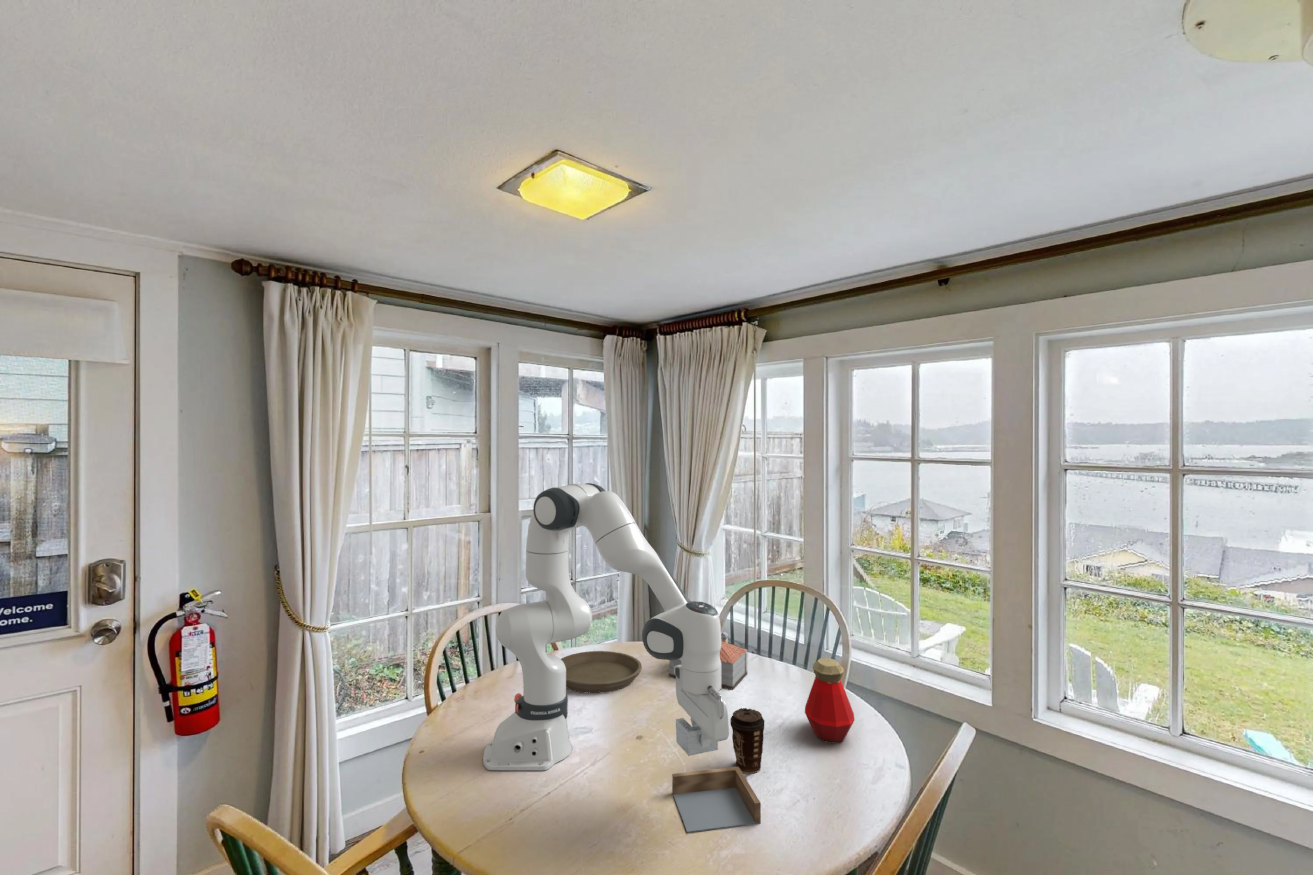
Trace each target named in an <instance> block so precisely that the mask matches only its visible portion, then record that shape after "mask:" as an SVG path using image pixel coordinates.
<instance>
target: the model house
mask: <svg viewBox="0 0 1313 875" xmlns="http://www.w3.org/2000/svg"><path fill="white" fill-rule="evenodd" d="M729 637H730V635H729V634H728V633H727V632H726V631H723V632H721V649H720V660H721V689H725V690H726V689H727V690H730V691H734V690H735V689H736V688H737V686H739V684H740V683H741V682H742V680H744V679H745V677H746V676H747V675H748V649H747V648H744V647H741V646H738V645H735V644H731V643H729ZM668 661H669V670H668V671H669V673H668V677H669V678H673V679H676V676H675V674H674V666H676V665H681V660H679V659H675V660H668Z"/></svg>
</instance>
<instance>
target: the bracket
mask: <svg viewBox="0 0 1313 875" xmlns="http://www.w3.org/2000/svg"><path fill="white" fill-rule="evenodd" d="M675 731H676V732H675V736H676V738H675V739H676V743H677V745H679V747H680V748H681V749H682V750H683V751H684V752H685V753H686V755H687V756H688V757H689V756H695V755H699V754H705V753H710V752H714V751H718V750H719V749H718V748H719V746H718V744H719V741H717V742H713V741H712V740H711V739H710V745H709V747H705V748H703V747H702V746H701V745H700V743H699V742H700V740H699V737H700V736H702V732H701V728H700V727H699V726H696V727H692V724H691V723H689V722H688V721H687V720H686V719H685V718H684V717H681V718H675Z"/></svg>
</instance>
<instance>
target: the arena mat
mask: <svg viewBox="0 0 1313 875" xmlns="http://www.w3.org/2000/svg"><path fill="white" fill-rule="evenodd" d="M671 794H672V796H673V798H674V801H675V804H676V807H677V809H678V812H679V814H680V817H681V819H682V823H683V825H684V827H685V828H684V829H685V830H686V833H687V834H690V833H691V834H692V833H699V832H706V831H713V830H714V831H715V830H722V829H729V828H736V827H737V828H739V827H745V826H751V825H752V826H753V825H760V824H761V822H757V823H755V821H754V820H753V818H752V816H751V814H750V813H749V811H748V809H747V807H746V805H745V804H744V802H743V800H742V798H741V797H740V795H739V793H738V791H737V790H736V788H735V787H734V788H725V789H717V790H708V791H700V792H691V793H683V794H674V795H673V792H672V791H671Z"/></svg>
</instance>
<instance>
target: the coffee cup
mask: <svg viewBox="0 0 1313 875" xmlns="http://www.w3.org/2000/svg"><path fill="white" fill-rule="evenodd" d="M762 715H763V714H762V713H761V712H760V711H759V710H756V709H752V708H747V707H744V708H742V707H741V708H739V709H737V710H735V711H733V712H732V716H731V717H730V718H729V719H730V721H729V722H730V724H729V725H730V727H731V729H732V737H731V738H732V744H733V746H732V748H733V750H734V755H735V764H734V767H739V768H740V770H741V772H742V773H743V774H745V775H746V774H747V775H748V774H749V775H751V774H755V773H758V772H760V771H761V768H762V767H761V766H762V755H763V752H764V730H765V721H766V720H764V718H763V716H762Z"/></svg>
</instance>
